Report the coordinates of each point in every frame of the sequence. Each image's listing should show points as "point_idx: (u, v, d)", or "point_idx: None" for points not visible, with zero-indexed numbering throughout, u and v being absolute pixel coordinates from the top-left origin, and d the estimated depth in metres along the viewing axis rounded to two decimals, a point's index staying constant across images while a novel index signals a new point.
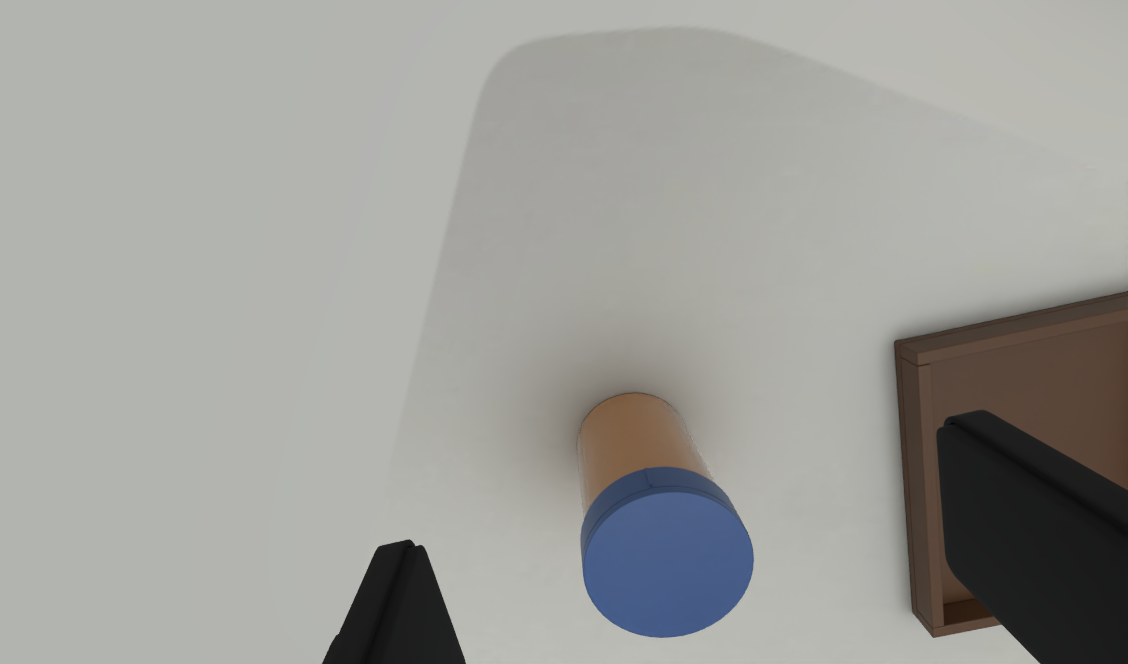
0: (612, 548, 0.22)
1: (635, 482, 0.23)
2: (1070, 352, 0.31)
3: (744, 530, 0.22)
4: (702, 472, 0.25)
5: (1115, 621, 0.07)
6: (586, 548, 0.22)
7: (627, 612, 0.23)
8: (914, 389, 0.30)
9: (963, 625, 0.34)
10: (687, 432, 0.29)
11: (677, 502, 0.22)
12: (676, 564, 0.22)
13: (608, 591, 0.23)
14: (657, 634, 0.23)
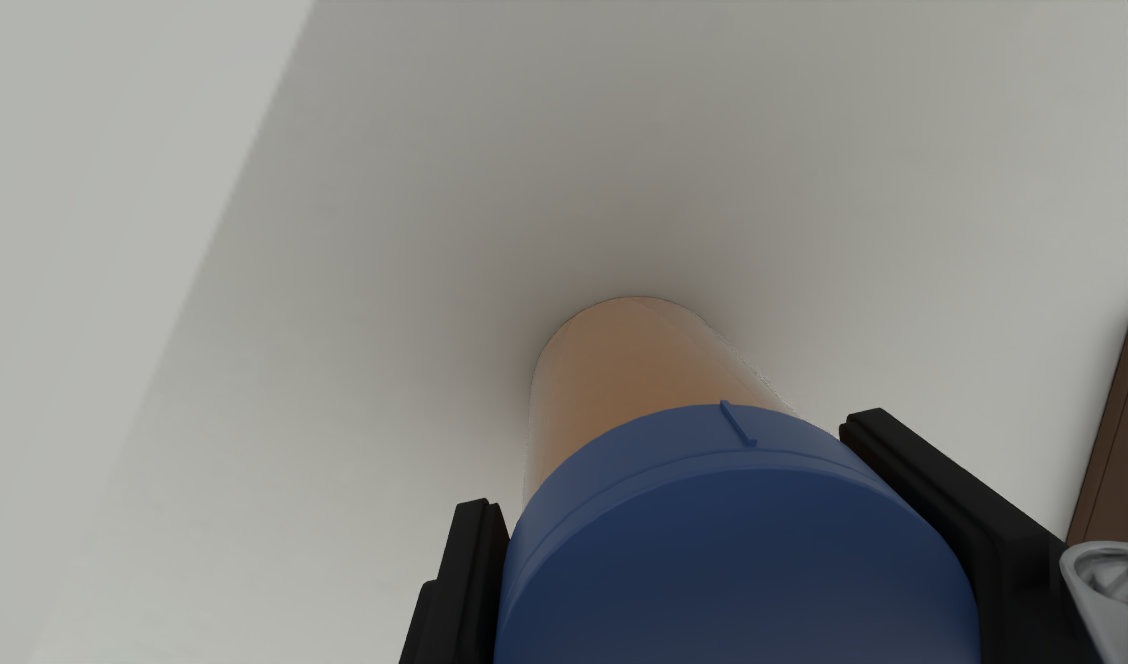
0: (597, 601, 0.07)
1: (698, 428, 0.08)
2: None
3: (976, 628, 0.08)
4: None
5: None
6: (521, 585, 0.07)
7: None
8: None
9: None
10: None
11: (826, 506, 0.07)
12: None
13: None
14: None
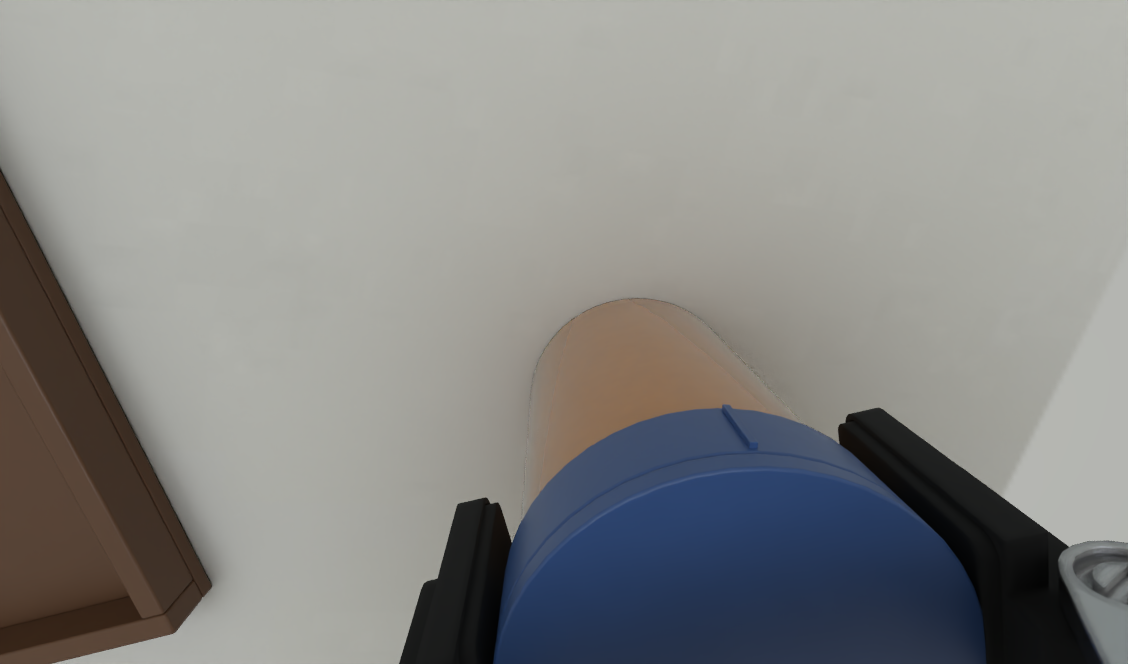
0: (598, 604, 0.07)
1: (700, 431, 0.08)
2: None
3: (982, 636, 0.08)
4: None
5: None
6: (521, 587, 0.07)
7: None
8: (151, 566, 0.17)
9: None
10: None
11: (827, 510, 0.07)
12: None
13: None
14: None
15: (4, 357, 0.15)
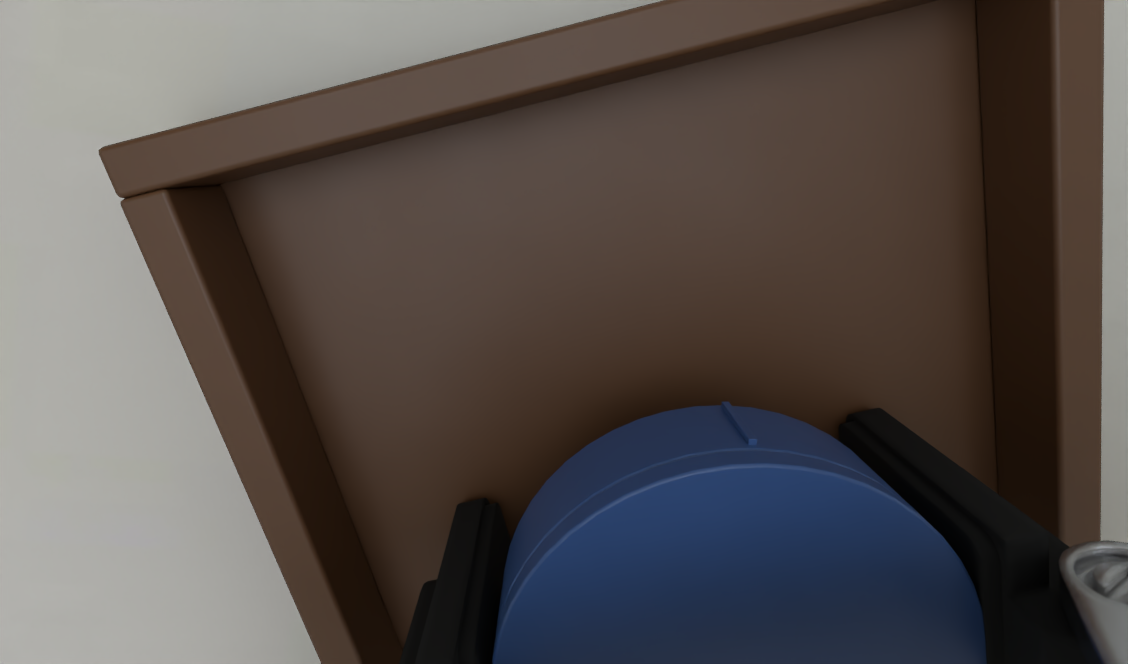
0: (597, 601, 0.07)
1: (699, 428, 0.08)
2: None
3: (982, 633, 0.08)
4: None
5: None
6: (520, 584, 0.07)
7: None
8: None
9: None
10: None
11: (826, 506, 0.07)
12: None
13: None
14: None
15: (1074, 494, 0.10)
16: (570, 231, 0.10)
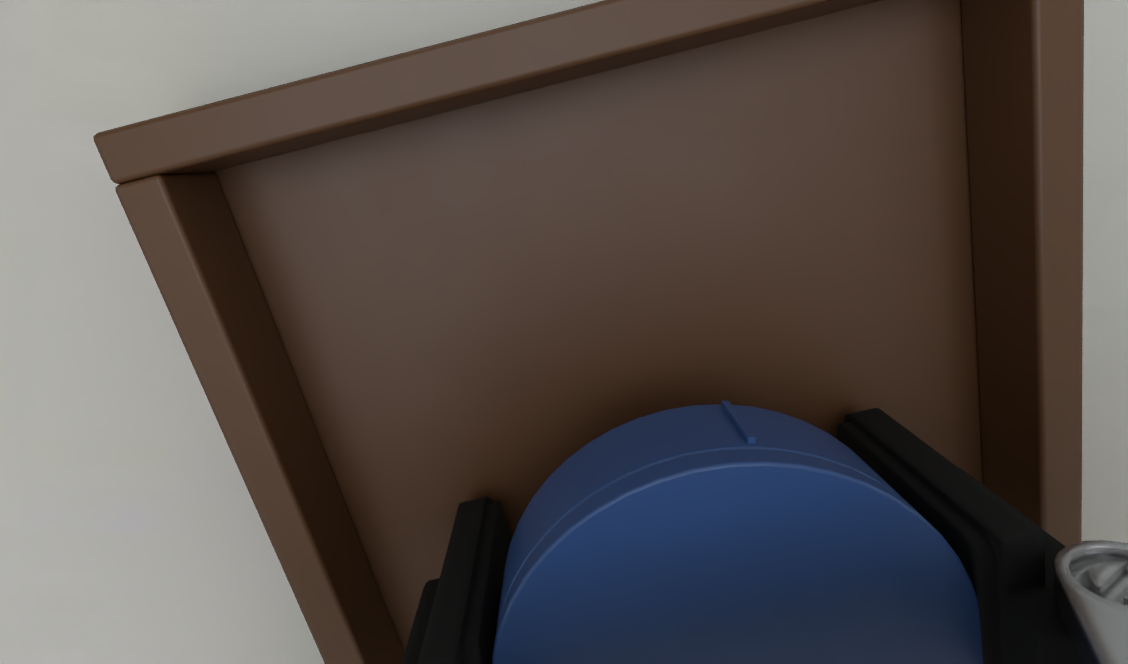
0: (596, 598, 0.07)
1: (698, 427, 0.08)
2: None
3: None
4: None
5: None
6: (520, 581, 0.07)
7: None
8: None
9: None
10: None
11: (825, 505, 0.07)
12: None
13: None
14: None
15: (1055, 476, 0.10)
16: (561, 218, 0.10)
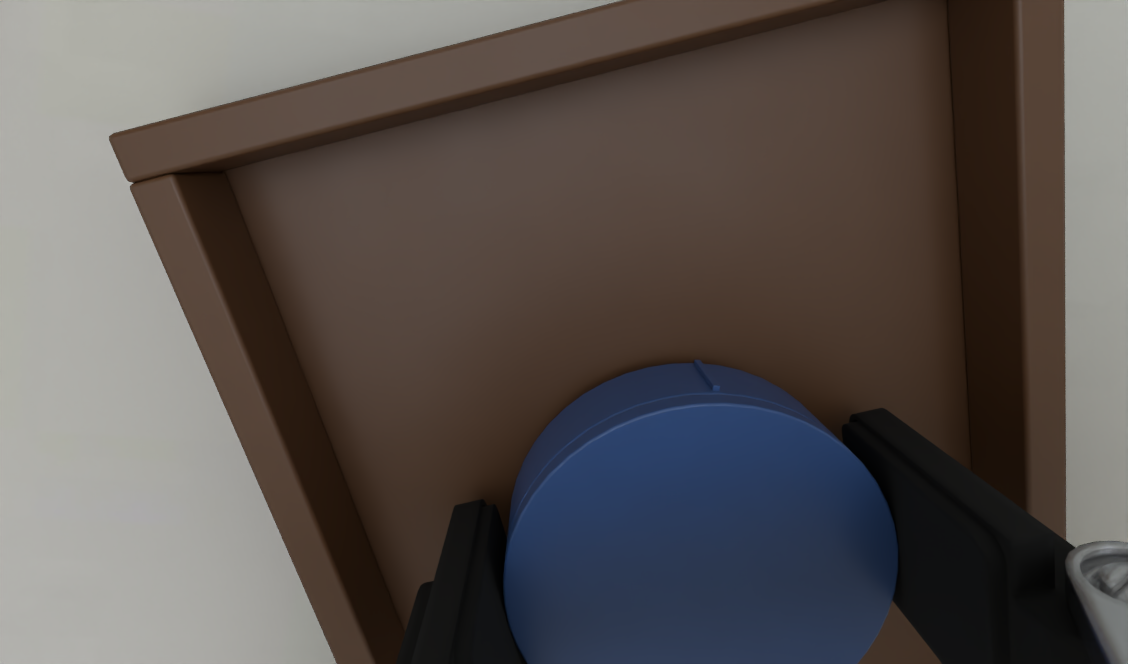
0: (589, 512, 0.09)
1: (674, 379, 0.10)
2: None
3: (894, 542, 0.10)
4: None
5: (966, 597, 0.08)
6: (529, 498, 0.09)
7: None
8: None
9: None
10: None
11: (772, 438, 0.09)
12: (721, 584, 0.10)
13: (552, 609, 0.10)
14: None
15: (1040, 467, 0.10)
16: (560, 216, 0.10)
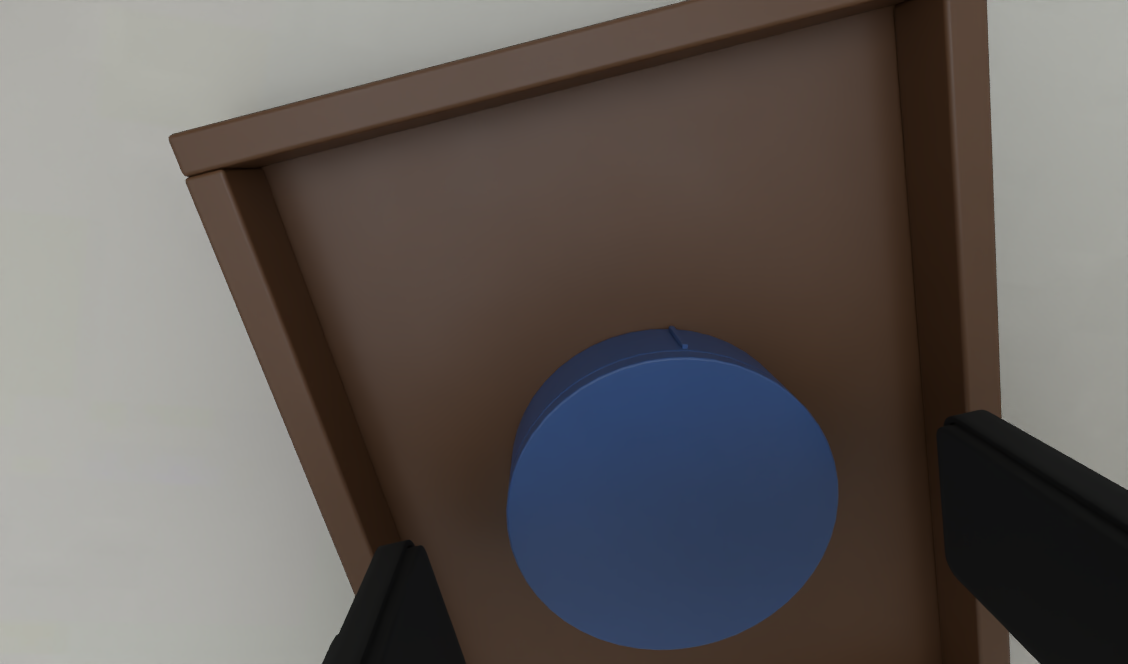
0: (579, 450, 0.11)
1: (651, 340, 0.12)
2: None
3: (834, 476, 0.11)
4: None
5: (1115, 621, 0.07)
6: (528, 438, 0.11)
7: (571, 584, 0.12)
8: None
9: None
10: None
11: (730, 387, 0.11)
12: (689, 512, 0.12)
13: (548, 534, 0.12)
14: (614, 638, 0.12)
15: None
16: (557, 207, 0.12)
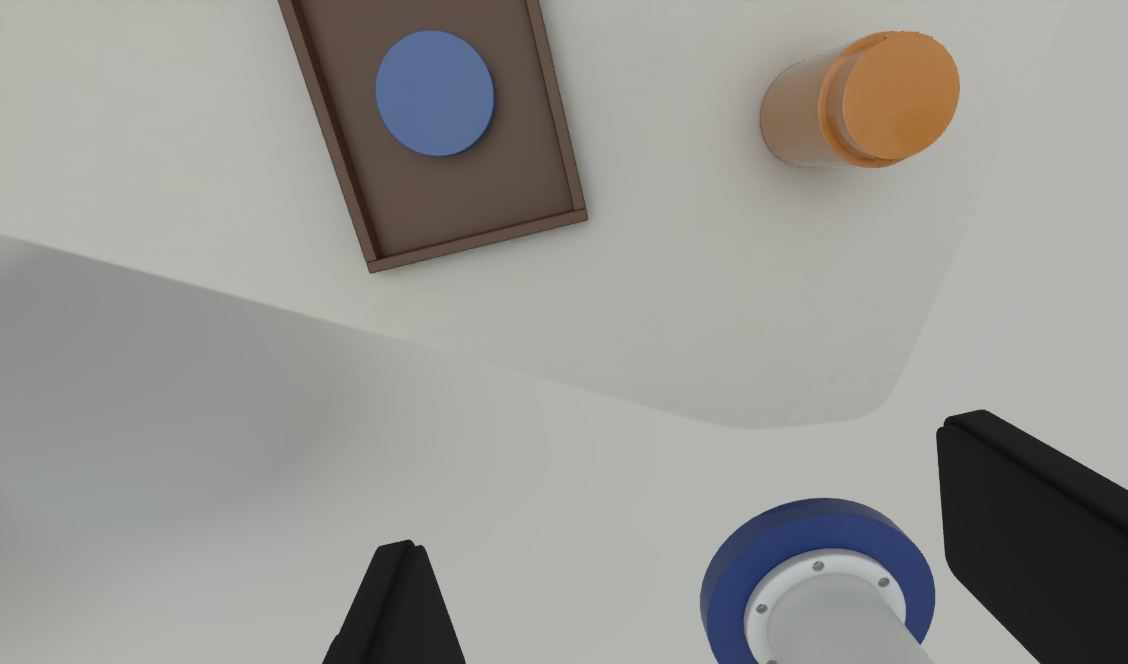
0: (398, 66, 0.32)
1: None
2: (438, 212, 0.36)
3: (490, 79, 0.32)
4: (830, 155, 0.29)
5: (1115, 621, 0.07)
6: (381, 62, 0.32)
7: (400, 124, 0.33)
8: (580, 184, 0.35)
9: None
10: (785, 148, 0.34)
11: (448, 41, 0.32)
12: (440, 93, 0.33)
13: (390, 101, 0.33)
14: (418, 150, 0.33)
15: (544, 65, 0.33)
16: None
